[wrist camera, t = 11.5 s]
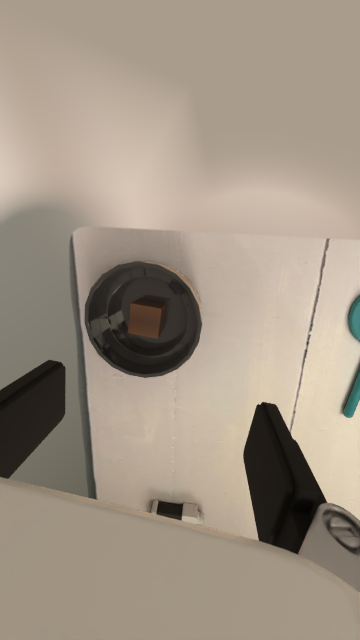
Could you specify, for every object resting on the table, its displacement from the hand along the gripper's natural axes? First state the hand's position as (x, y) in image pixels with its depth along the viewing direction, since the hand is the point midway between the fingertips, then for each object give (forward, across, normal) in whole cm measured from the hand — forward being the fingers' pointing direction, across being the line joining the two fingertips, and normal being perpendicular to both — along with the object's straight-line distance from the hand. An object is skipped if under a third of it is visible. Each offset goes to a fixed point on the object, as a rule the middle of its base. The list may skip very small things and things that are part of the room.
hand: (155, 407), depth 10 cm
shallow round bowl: (+23, +6, +2) cm, 24 cm away
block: (+23, +6, +2) cm, 23 cm away
